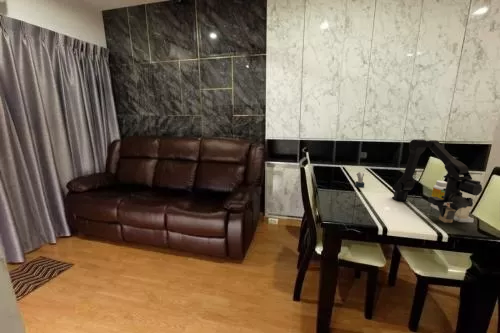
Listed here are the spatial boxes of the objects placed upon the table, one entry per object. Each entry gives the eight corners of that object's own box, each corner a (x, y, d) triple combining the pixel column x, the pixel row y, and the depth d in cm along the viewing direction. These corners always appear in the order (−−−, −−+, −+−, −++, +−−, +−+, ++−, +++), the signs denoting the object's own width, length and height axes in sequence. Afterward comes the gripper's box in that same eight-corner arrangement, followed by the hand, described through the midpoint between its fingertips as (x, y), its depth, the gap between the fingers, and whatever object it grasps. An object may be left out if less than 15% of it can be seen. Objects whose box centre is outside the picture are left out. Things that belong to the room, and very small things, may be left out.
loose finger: (445, 222, 121) (448, 210, 119) (438, 218, 125) (441, 206, 124) (453, 223, 121) (456, 210, 119) (446, 219, 125) (449, 206, 124)
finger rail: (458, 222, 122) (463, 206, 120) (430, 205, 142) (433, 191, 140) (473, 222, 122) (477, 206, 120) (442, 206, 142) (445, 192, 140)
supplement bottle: (438, 203, 146) (443, 183, 143) (427, 199, 153) (431, 180, 149) (447, 202, 148) (452, 183, 145) (436, 198, 154) (440, 179, 151)
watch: (362, 185, 178) (364, 171, 176) (364, 188, 171) (366, 174, 168) (354, 184, 180) (356, 170, 177) (355, 187, 172) (357, 173, 170)
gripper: (446, 193, 111) (439, 223, 115) (487, 194, 111) (478, 224, 115) (430, 186, 122) (424, 213, 126) (466, 186, 122) (459, 214, 126)
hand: (446, 216), depth 123 cm, fingers closed on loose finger, 4 cm apart
